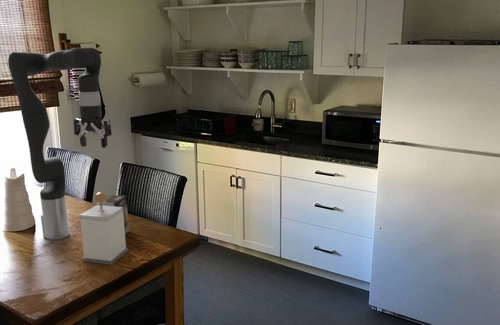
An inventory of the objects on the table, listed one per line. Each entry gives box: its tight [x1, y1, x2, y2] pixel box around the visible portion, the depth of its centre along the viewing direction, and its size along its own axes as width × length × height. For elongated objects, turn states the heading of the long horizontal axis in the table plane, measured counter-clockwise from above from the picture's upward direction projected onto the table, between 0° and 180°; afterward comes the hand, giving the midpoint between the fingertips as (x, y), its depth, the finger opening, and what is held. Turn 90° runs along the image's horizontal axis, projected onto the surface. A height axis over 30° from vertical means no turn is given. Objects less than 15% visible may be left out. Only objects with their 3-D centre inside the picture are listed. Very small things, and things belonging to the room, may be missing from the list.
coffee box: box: [103, 194, 130, 235], centre depth 195 cm, size 9×6×16 cm
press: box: [79, 204, 129, 266], centre depth 177 cm, size 12×15×18 cm
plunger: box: [93, 191, 108, 212], centre depth 174 cm, size 4×4×20 cm
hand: (94, 146), depth 176 cm, fingers open, 8 cm apart
